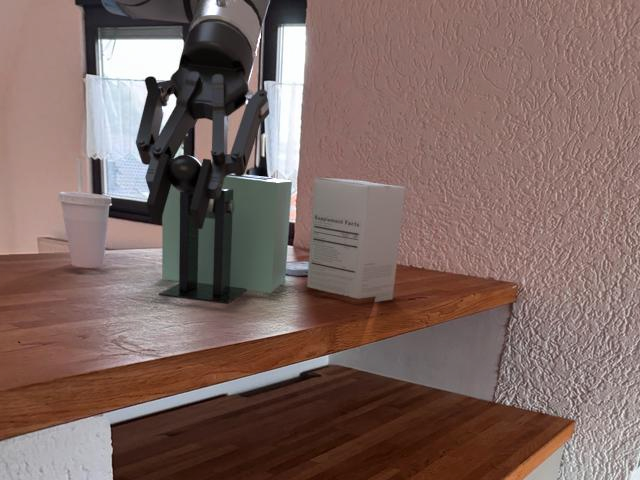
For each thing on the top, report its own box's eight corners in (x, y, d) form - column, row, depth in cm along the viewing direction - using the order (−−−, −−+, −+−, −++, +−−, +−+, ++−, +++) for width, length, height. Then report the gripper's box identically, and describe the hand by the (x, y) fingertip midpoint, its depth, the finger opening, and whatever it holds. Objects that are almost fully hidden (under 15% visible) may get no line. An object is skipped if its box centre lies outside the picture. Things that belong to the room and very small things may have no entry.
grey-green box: (271, 300, 93) (278, 181, 87) (160, 286, 93) (161, 166, 87) (285, 287, 103) (293, 179, 97) (186, 275, 103) (188, 166, 98)
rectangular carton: (342, 289, 107) (353, 179, 101) (394, 300, 102) (408, 186, 96) (303, 293, 100) (312, 175, 94) (356, 306, 95) (369, 183, 89)
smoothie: (68, 266, 99) (63, 154, 93) (117, 271, 100) (115, 160, 94) (56, 274, 93) (49, 154, 87) (108, 279, 94) (105, 161, 88)
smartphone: (348, 268, 123) (295, 270, 110) (347, 274, 123) (294, 278, 111) (312, 261, 126) (257, 262, 114) (311, 267, 126) (256, 269, 114)
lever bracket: (227, 312, 83) (232, 192, 78) (158, 303, 83) (158, 183, 78) (246, 298, 92) (251, 190, 87) (184, 290, 92) (185, 182, 87)
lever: (197, 187, 73) (201, 151, 72) (161, 183, 73) (165, 146, 73) (223, 225, 85) (227, 194, 85) (192, 221, 85) (196, 190, 85)
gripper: (138, 9, 78) (79, 178, 69) (293, 27, 77) (253, 199, 69) (154, 72, 85) (103, 232, 76) (296, 88, 84) (261, 251, 76)
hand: (174, 216), depth 72 cm, fingers closed on lever, 4 cm apart
